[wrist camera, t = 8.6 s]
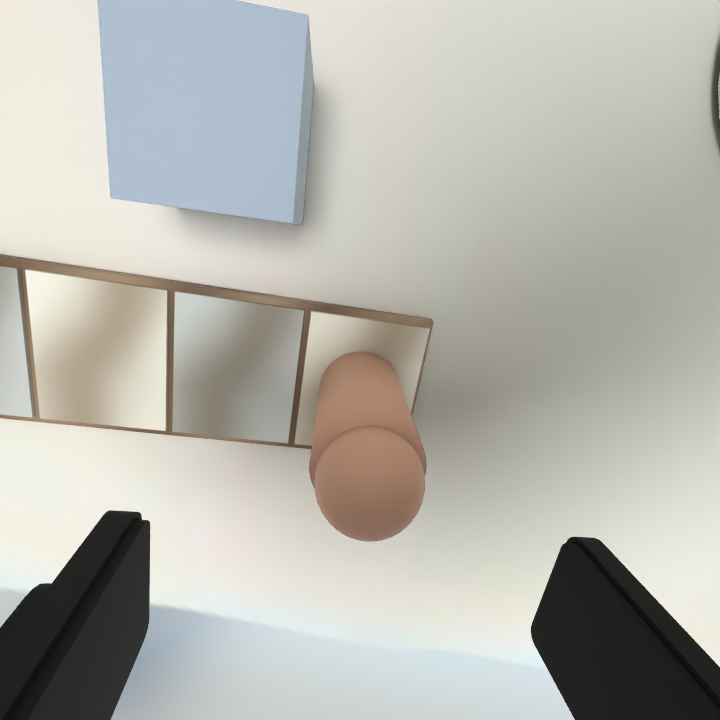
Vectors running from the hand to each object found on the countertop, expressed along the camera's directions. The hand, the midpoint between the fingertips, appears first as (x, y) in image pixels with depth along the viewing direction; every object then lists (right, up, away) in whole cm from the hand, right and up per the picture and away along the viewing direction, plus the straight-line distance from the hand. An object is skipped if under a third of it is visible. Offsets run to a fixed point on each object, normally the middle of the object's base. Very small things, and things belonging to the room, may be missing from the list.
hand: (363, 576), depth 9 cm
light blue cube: (-5, +13, +6) cm, 15 cm away
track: (-8, +5, +9) cm, 13 cm away
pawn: (0, +3, +9) cm, 10 cm away
